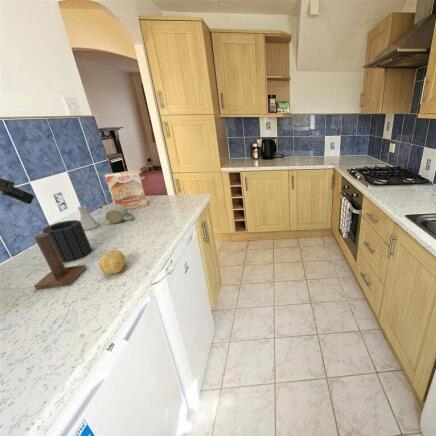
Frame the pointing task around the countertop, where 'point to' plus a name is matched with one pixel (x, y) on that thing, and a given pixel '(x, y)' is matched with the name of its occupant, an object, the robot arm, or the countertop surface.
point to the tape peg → (55, 265)
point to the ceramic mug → (118, 213)
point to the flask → (87, 219)
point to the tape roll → (69, 240)
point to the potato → (112, 262)
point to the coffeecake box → (126, 189)
